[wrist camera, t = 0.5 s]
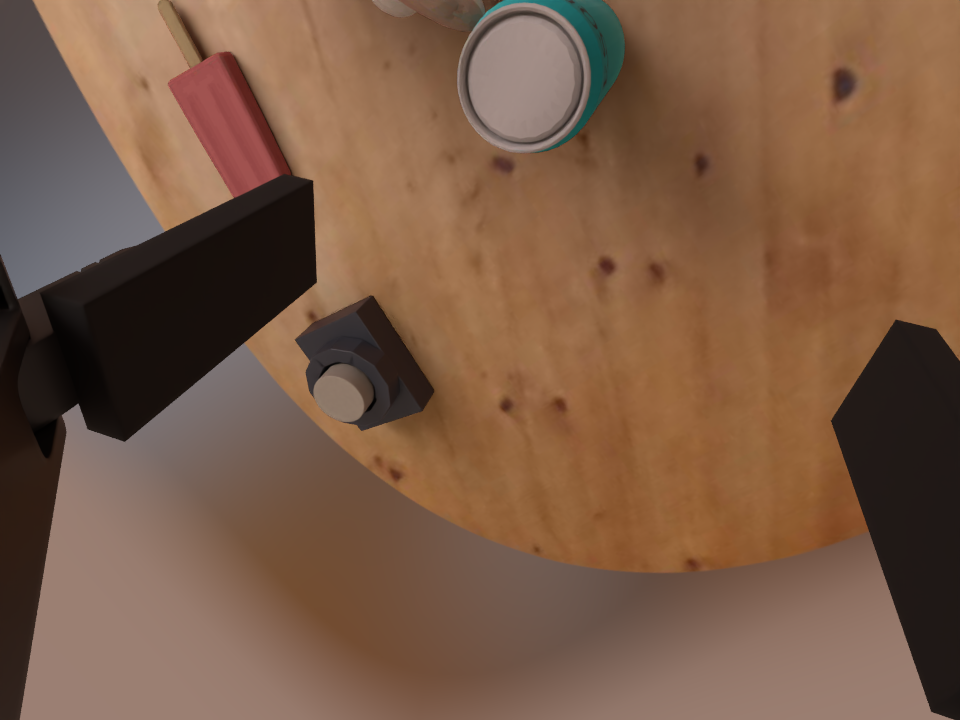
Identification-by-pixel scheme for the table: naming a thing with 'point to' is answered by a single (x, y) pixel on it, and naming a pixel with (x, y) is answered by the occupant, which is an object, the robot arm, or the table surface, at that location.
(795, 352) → the table surface
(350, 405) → the plunger
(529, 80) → the beverage can
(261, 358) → the table surface
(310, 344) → the button base
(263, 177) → the popsicle
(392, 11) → the toy
